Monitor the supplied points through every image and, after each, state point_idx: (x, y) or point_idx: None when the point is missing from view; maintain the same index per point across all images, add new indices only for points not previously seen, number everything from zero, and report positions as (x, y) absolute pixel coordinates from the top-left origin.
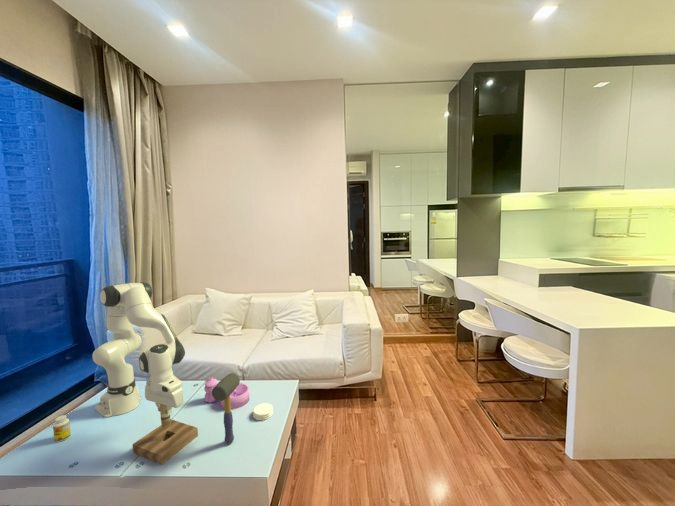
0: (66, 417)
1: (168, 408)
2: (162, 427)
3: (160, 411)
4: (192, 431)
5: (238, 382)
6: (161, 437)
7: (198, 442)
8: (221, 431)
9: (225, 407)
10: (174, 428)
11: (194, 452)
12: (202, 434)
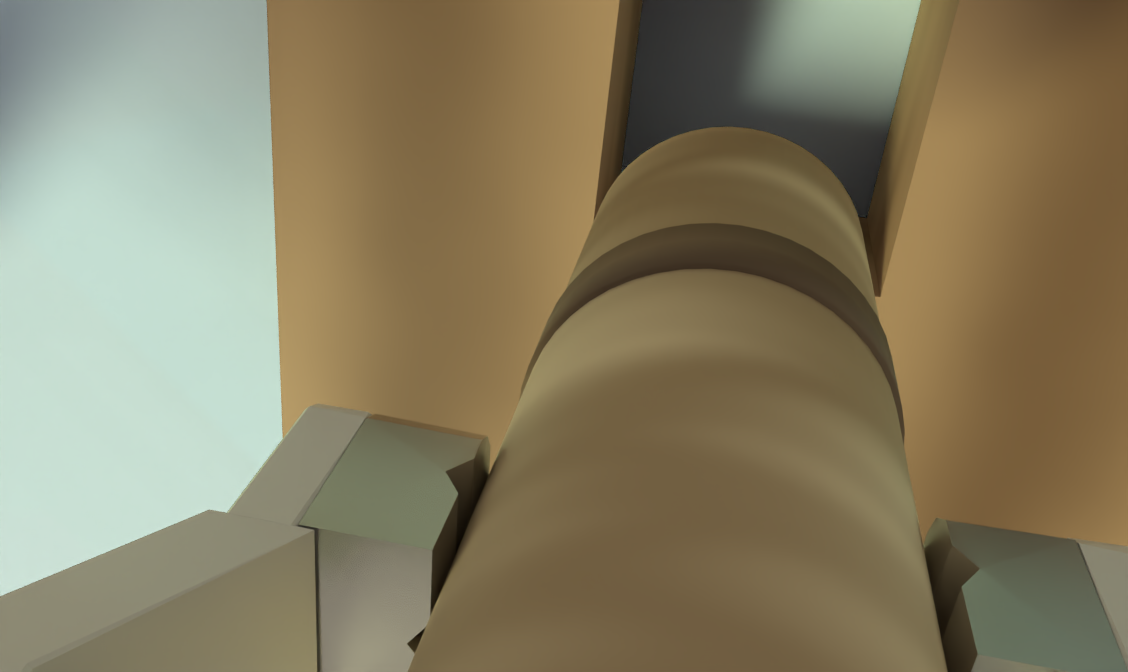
0: None
1: (3, 604)
2: (1100, 363)
3: (786, 457)
4: (284, 357)
5: None
6: (913, 114)
7: (205, 240)
8: (85, 507)
9: None
10: None
11: (55, 12)
12: None
